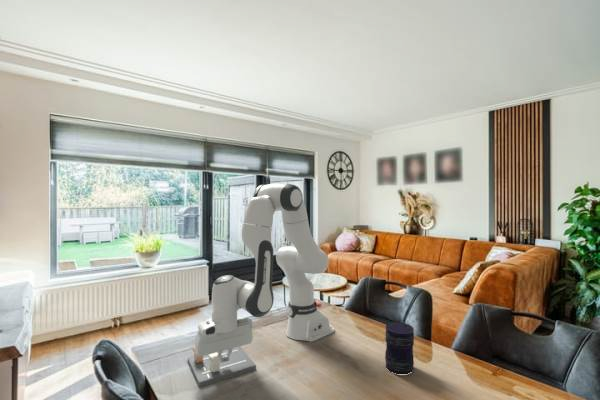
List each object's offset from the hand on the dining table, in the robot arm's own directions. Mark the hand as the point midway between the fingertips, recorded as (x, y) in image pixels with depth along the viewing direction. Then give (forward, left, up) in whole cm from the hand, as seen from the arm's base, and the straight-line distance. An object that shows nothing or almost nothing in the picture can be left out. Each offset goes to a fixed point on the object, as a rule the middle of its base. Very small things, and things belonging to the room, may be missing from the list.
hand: (224, 361), depth 111 cm
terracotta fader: (+7, -9, -2) cm, 12 cm away
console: (0, -5, -4) cm, 6 cm away
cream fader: (+3, 0, -2) cm, 4 cm away
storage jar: (-55, +30, -4) cm, 63 cm away
